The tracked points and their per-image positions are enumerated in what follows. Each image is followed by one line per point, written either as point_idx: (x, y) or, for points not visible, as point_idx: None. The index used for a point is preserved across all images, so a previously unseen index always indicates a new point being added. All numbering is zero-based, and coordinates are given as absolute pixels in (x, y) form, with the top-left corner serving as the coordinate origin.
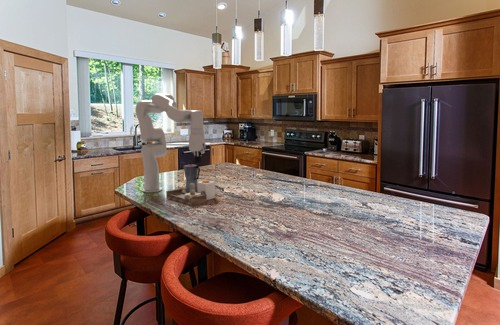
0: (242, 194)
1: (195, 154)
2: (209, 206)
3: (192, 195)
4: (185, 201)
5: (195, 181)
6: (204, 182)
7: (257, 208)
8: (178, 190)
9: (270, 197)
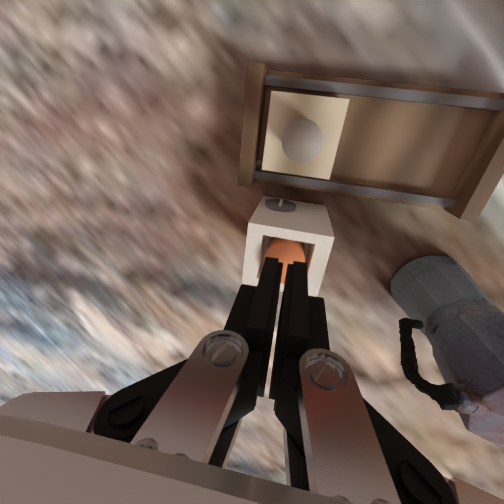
0: (203, 320)
1: (301, 384)
2: (181, 120)
3: (278, 107)
4: (312, 74)
5: (420, 315)
6: (279, 245)
7: (45, 206)
8: (470, 187)
9: (115, 322)
